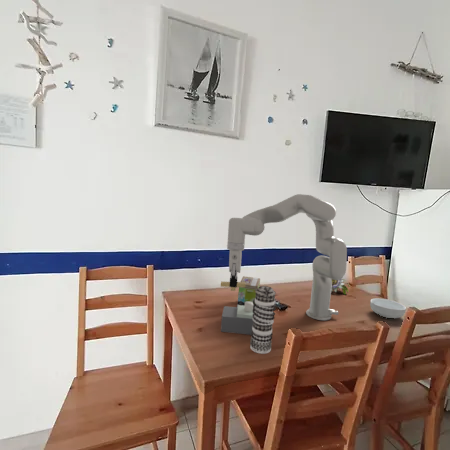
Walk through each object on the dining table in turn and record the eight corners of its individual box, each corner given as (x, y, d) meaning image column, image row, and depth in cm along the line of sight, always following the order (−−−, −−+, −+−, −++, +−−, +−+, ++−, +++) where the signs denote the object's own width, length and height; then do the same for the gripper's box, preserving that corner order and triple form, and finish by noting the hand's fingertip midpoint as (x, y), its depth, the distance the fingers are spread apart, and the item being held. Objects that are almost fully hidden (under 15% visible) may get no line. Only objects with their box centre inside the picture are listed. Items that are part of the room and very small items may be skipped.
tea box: (255, 314, 153) (258, 286, 151) (236, 311, 155) (238, 283, 153) (258, 303, 168) (260, 277, 166) (240, 300, 170) (242, 275, 168)
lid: (259, 310, 140) (259, 300, 140) (259, 319, 130) (260, 308, 130) (237, 308, 141) (238, 297, 141) (236, 317, 131) (237, 306, 131)
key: (245, 289, 136) (245, 282, 136) (245, 291, 134) (245, 283, 133) (221, 288, 137) (221, 281, 136) (220, 290, 135) (220, 283, 134)
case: (258, 323, 142) (260, 309, 141) (259, 335, 131) (260, 320, 130) (223, 320, 143) (224, 306, 142) (220, 331, 132) (221, 316, 131)
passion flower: (330, 301, 196) (320, 282, 199) (339, 294, 204) (329, 276, 207) (345, 296, 187) (334, 276, 190) (355, 289, 195) (344, 270, 198)
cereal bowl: (404, 315, 166) (405, 302, 165) (404, 326, 151) (406, 312, 150) (370, 307, 174) (371, 295, 173) (367, 316, 160) (369, 304, 159)
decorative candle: (260, 356, 114) (265, 293, 111) (244, 345, 121) (249, 286, 118) (276, 350, 120) (282, 290, 116) (261, 340, 127) (266, 283, 124)
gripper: (243, 250, 124) (240, 292, 127) (244, 243, 140) (242, 281, 143) (225, 248, 125) (223, 291, 127) (228, 241, 141) (226, 279, 143)
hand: (233, 285), depth 135 cm, fingers closed on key, 2 cm apart
